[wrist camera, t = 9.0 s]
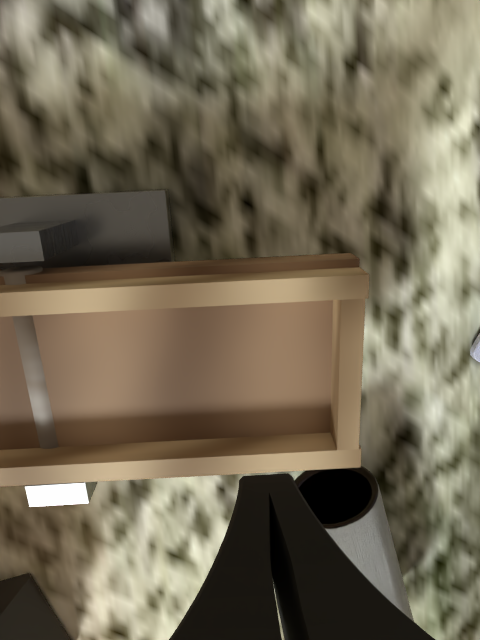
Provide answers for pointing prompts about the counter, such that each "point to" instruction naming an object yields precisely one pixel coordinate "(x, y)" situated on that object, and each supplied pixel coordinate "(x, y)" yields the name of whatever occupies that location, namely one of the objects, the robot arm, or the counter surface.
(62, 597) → the counter surface
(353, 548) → the gray cylinder
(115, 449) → the wooden tray
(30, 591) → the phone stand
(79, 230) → the stand
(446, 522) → the counter surface
